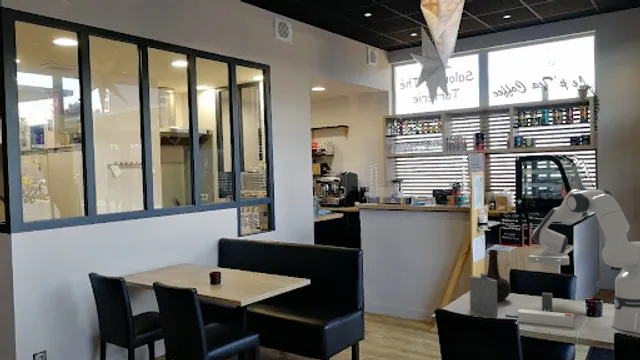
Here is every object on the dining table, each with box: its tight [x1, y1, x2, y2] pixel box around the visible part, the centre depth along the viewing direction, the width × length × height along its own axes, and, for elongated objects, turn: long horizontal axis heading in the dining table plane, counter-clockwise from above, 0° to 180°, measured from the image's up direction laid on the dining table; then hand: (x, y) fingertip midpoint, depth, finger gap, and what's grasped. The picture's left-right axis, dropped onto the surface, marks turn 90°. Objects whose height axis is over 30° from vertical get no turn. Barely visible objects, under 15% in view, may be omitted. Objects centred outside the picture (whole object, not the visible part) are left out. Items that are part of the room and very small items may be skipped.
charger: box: [541, 292, 553, 312], centre depth 263 cm, size 7×4×10 cm, turn 154°
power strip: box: [505, 308, 575, 328], centre depth 250 cm, size 6×30×5 cm, turn 64°
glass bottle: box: [486, 249, 512, 302], centre depth 296 cm, size 18×18×28 cm
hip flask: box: [469, 272, 498, 317], centre depth 269 cm, size 16×4×20 cm, turn 35°
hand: (547, 261), depth 274 cm, fingers open, 8 cm apart
